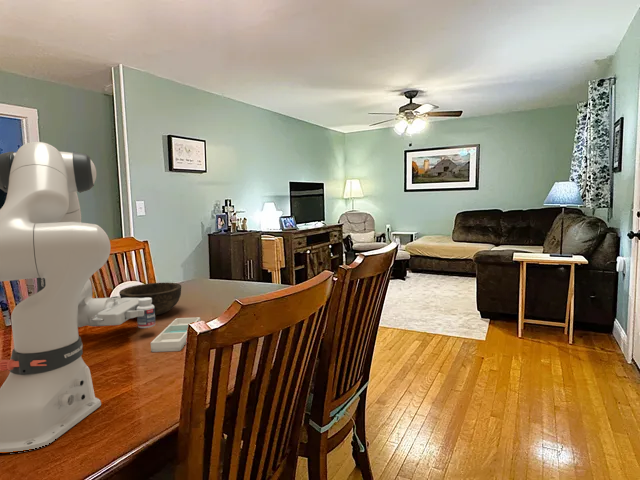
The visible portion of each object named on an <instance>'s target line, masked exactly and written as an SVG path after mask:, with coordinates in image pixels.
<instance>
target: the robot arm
mask: <svg viewBox="0 0 640 480" xmlns="http://www.w3.org/2000/svg"><path fill="white" fill-rule="evenodd" d="M96 180H97V168H96V165H95V164H94V162H93V161H92V158H91V157H90V156H89V155H88V154H87V153H84V152H79V151H73V152H69V151H59V149H57V148H56V147H55V146H53V145H51V144H50V143H47V142H44V141H31V142H27V143H25V144H22V146H20V147H19V148H18V149H17V151H16V152H15V151H7V152H2V153H0V190H1V191H3V192H4V193H7V194H6V197H5V200H4V201H5V202H4V204H3V206H1V208H0V282H9V281H20V280H21V281H22V280H30V279H31V280H32V279H36V292H35V293H34V294H32V295H30V296H28V297H26V298H25V299H23V300H22V301H20V302H19V303H18V304H17V305H15V307H14V309H12V312H11V315H10V321H11V329H12V338H13V340H12V341H13V346H14V348H13V349H12V351H11V356H10V359H1V360H0V371H9V374H8V376H7V377H6V379H5V381H4V382H3V384H2V385H1V386H0V452H13V451H23V450H29V449H34V450H36V449H35V448H37V449H40V448H39V447H41V448H43V447H42V446H44V447H46V446H45V445H47V446H48V445H50V444H51V443H52V442H54V441H56V440H57V439H58V438H59V437H61V436H62V435H64V434H65V433H66V432H68V431H69V430H71V429H72V428H73V427H75V425H77V424H78V423H80V422H81V421H82V420H84V419H85V418H86V417H87V416H89V415H90V414H92V413H93V412H94V411H96V410H97V409H98V408H100V407H101V405H102V401H101V399H100V398H98V397H96V394H95V391H94V390H95V389H94V385H93V379H92V374H91V370H90V367H89V366H88V365H87V364H86V362H85V361H84V359H83V357H82V355H83V353H84V351H83V348H84V345H83V341H82V337H81V336H79V328H82V327H85V326H90V327H110V326H120V325H122V324H123V323H125V322H126V321H128V320H130V319H134V318H137V317H140V316H144V315H145V310H137V307H138V306H139V303H138V299H141V298H121V297H120V295H118V296H112V297H97V298H95V297H93V294H94V293H93V284H92V281H91V279H90V278H91V277H92V276H93V275H94V274H96V272H97V271H98V270H100V269H101V268H102V267H104V265H105V264H106V263H107V261H108V259H109V257H110V254H111V247H112V246H111V241H110V239H109V236H108V234H107V233H106V231H105V230H104V229H103V228H102V227H101V226H100V225H98V224H95V223H87V222H82V210H81V206H80V201H79V196H78V193H79V194H81V193H84V192H86V191H87V192H88V191H90V190H91V189H92V188H94V186H95V182H96ZM77 192H78V193H77ZM55 439H56V440H55ZM49 443H50V444H49ZM29 451H30V450H29Z"/></svg>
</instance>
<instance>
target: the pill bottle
mask: <svg viewBox="0 0 640 480" xmlns="http://www.w3.org/2000/svg"><path fill="white" fill-rule="evenodd" d="M138 303H139V306H138V307H137V310H145V315H144V316H140V317H136V318H137V319H136V320H137V321H136V322H137V327H138V328H139V329H149V328H152V327H155V326H156V315H155V308H154V305H153V304H151V303H152V298H141V299H138Z"/></svg>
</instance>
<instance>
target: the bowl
mask: <svg viewBox="0 0 640 480" xmlns="http://www.w3.org/2000/svg"><path fill="white" fill-rule="evenodd" d="M181 294H182V284H180V283H177V282H150V283H144V284H142V283H141V284H137V285H132V286H128V287H125V288H123V289H121V290H120V291H119V296H120V297H121V298H152V303H151V304H153V305H154V308H155V316H159V315H162V314H163V315H164V314H165V313H168V311H170V310H172V309H173V308H174V307H175V306H176V305H177V304H178V302H179V300H180V298H181Z"/></svg>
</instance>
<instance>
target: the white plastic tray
mask: <svg viewBox="0 0 640 480" xmlns="http://www.w3.org/2000/svg"><path fill="white" fill-rule="evenodd" d="M197 321H201V317H200V316H198V317H196V316H195V317H179V318H178V317H177V318H175V319H173V321H171V323H169V324H168V326H166V327H165V328H164V329H163V330H162V331H161V332H160V333H159V334H158V335H157V336H156V337H155V338H154V339H153V340H152V341H151V342H150V352H151V353H159V352H160V353H162V352H165V353H166V352H180V351H182V349H183V348H184V347H185V346H186V345H187V343H186V338H187V328H188V324H190V323H192V322H197ZM184 345H185V346H184Z"/></svg>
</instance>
